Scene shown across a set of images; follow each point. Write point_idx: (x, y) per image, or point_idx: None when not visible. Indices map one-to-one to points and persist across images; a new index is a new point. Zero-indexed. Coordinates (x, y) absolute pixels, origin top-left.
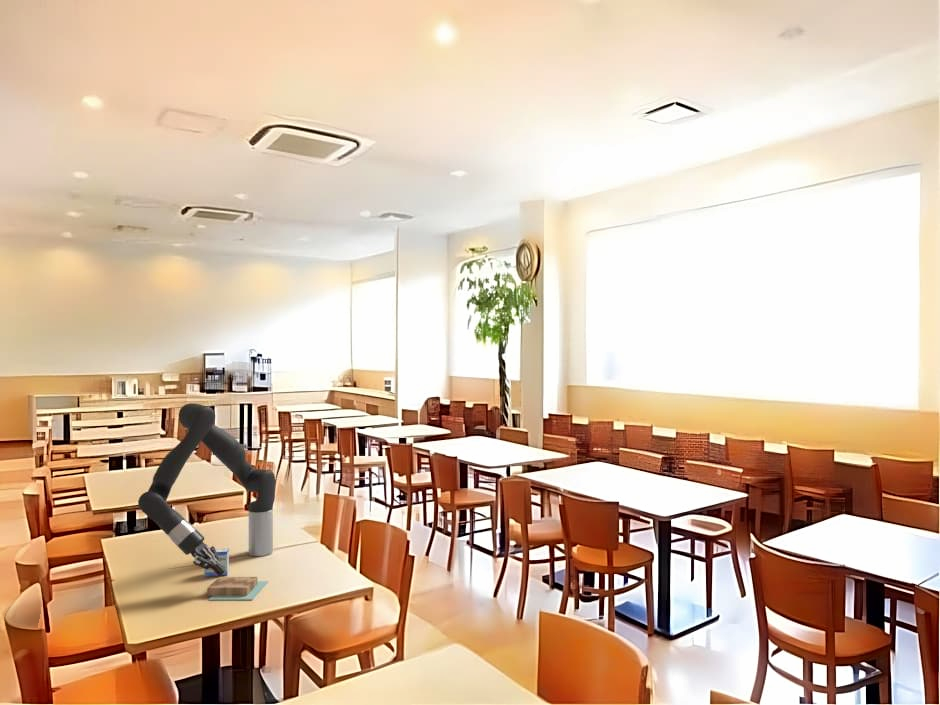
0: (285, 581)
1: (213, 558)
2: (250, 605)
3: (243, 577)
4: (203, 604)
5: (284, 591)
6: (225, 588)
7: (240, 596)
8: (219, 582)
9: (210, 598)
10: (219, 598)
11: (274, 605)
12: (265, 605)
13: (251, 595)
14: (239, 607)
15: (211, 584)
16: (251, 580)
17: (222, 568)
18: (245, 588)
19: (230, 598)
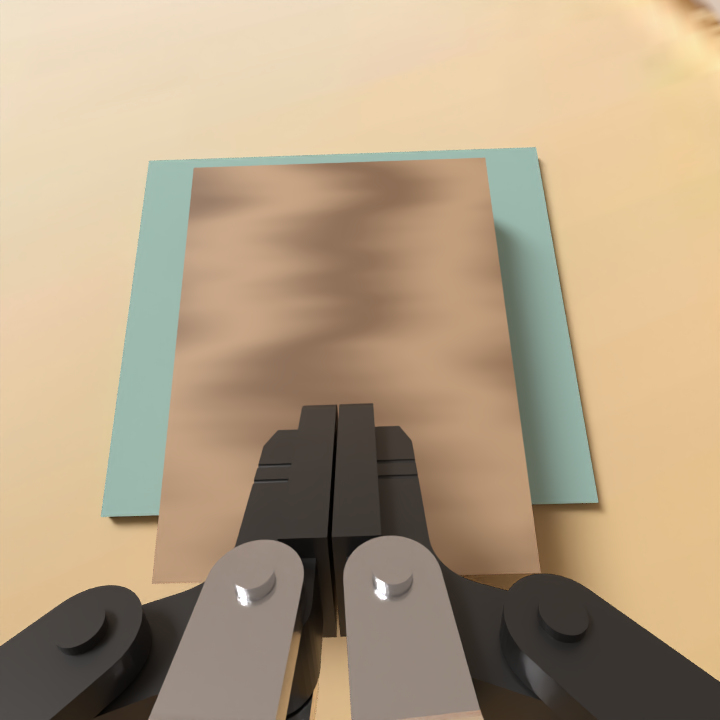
0: (149, 64)
1: (282, 706)
2: (622, 136)
3: (203, 284)
4: (688, 512)
5: (347, 20)
6: (508, 356)
7: None
8: None
9: (577, 492)
10: (562, 403)
11: (591, 7)
12: (602, 52)
13: None
14: (674, 192)
15: None
16: (295, 183)
17: (335, 431)
18: (485, 175)
19: (547, 308)
